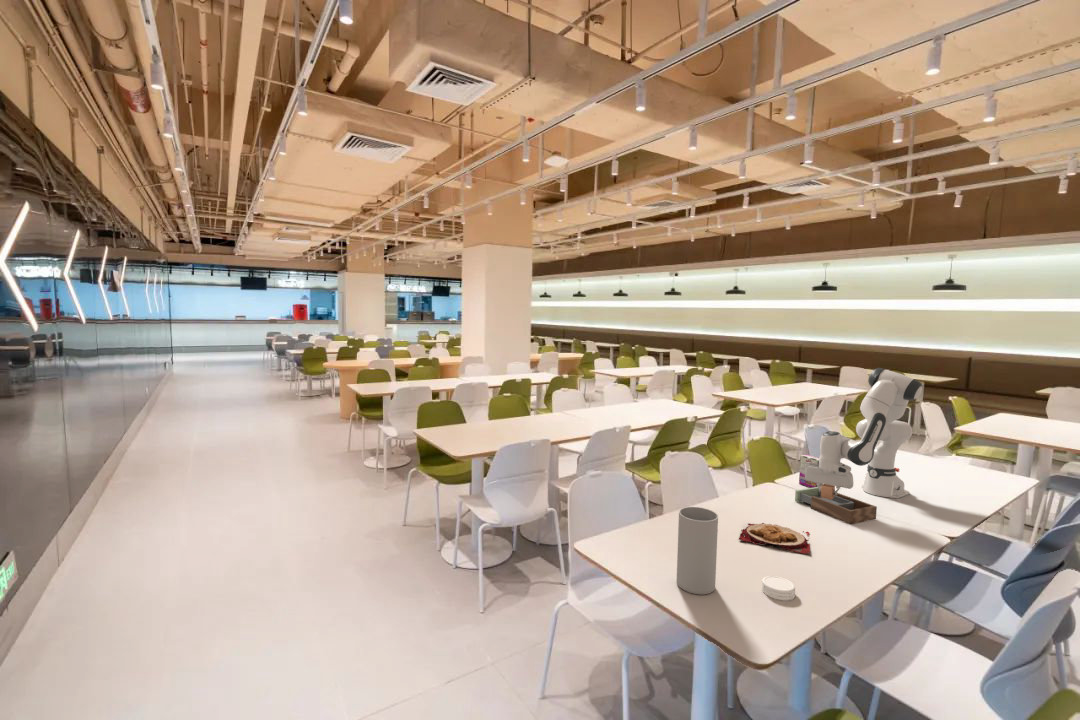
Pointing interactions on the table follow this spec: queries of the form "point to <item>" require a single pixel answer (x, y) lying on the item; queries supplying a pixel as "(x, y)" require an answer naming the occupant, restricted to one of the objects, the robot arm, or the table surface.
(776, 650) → the table surface
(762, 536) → the plate with food
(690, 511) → the cylinder vase
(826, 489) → the terracotta block
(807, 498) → the grey drawer
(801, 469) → the candy bar box
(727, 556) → the table surface
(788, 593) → the coaster
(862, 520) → the organiser housing
